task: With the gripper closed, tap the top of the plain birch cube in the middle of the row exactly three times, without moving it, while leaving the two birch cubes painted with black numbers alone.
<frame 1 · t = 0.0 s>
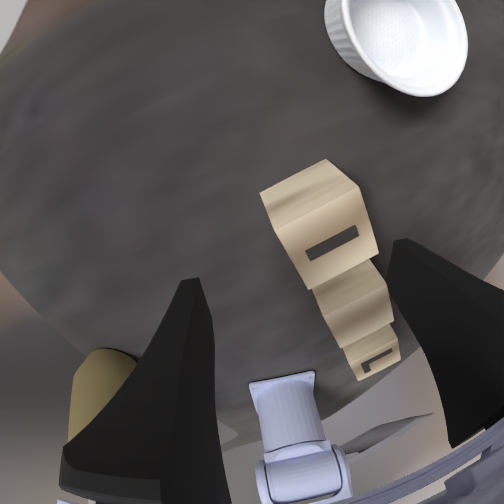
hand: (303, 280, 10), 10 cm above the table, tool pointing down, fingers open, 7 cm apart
plain block: (340, 277, 24), on the table
ramekin: (376, 28, 13), on the table
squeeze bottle: (114, 361, 28), on the table
numbered block seven: (359, 324, 29), on the table
numbered block one: (307, 204, 20), on the table
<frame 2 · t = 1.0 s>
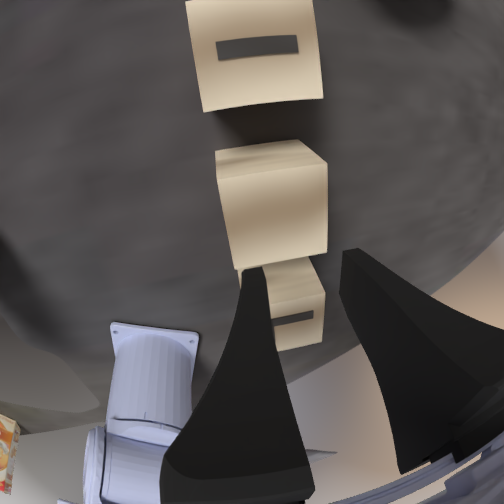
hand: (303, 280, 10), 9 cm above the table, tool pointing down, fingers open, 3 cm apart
plain block: (261, 181, 18), on the table
numbered block seven: (273, 279, 23), on the table
numbered block one: (244, 54, 13), on the table
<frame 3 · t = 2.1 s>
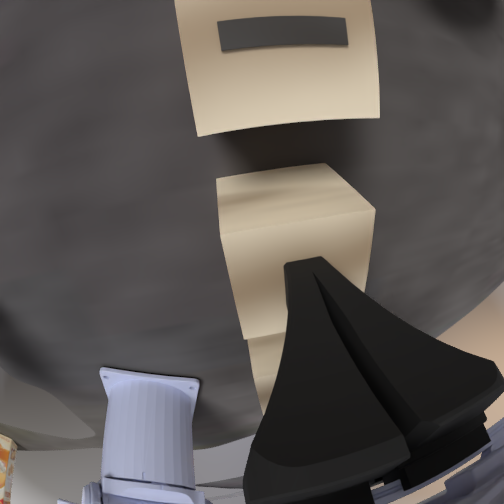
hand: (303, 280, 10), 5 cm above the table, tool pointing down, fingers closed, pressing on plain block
plain block: (276, 216, 14), on the table, touching gripper
numbered block seven: (285, 325, 19), on the table
numbered block one: (255, 47, 9), on the table
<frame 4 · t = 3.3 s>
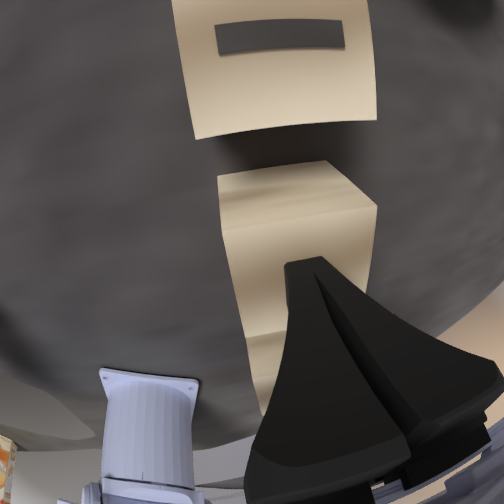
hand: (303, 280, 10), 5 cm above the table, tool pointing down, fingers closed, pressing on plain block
plain block: (277, 214, 14), on the table, touching gripper
numbered block seven: (284, 326, 19), on the table
numbered block one: (253, 50, 10), on the table
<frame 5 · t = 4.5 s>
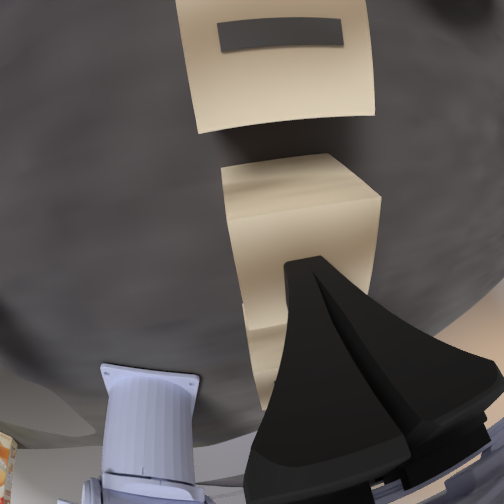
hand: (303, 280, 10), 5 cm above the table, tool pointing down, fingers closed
plain block: (280, 207, 14), on the table
numbered block seven: (284, 321, 19), on the table
numbered block one: (254, 48, 10), on the table
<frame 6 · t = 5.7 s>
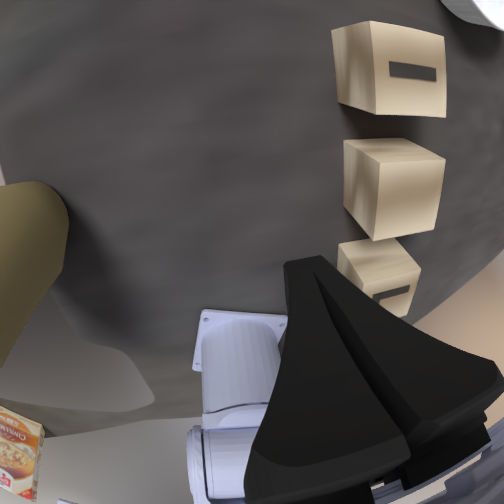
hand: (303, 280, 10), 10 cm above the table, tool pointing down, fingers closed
plain block: (373, 170, 19), on the table
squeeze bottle: (40, 213, 18), on the table
numbered block seven: (362, 262, 24), on the table
coffeecake box: (15, 415, 39), on the table
numbered block one: (368, 67, 15), on the table
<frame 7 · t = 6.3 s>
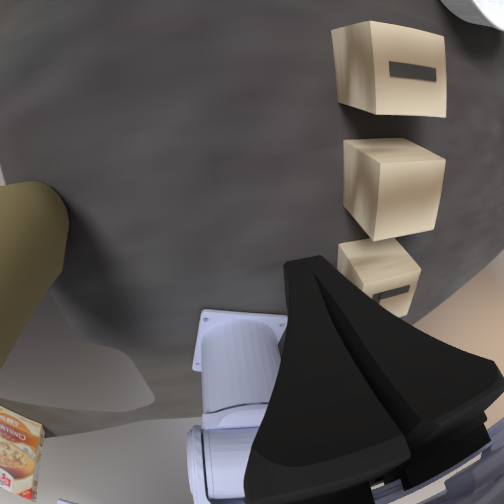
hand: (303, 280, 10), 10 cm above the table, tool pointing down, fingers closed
plain block: (373, 170, 19), on the table
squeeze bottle: (40, 213, 18), on the table
numbered block seven: (362, 262, 24), on the table
coffeecake box: (15, 415, 39), on the table
numbered block one: (368, 67, 15), on the table
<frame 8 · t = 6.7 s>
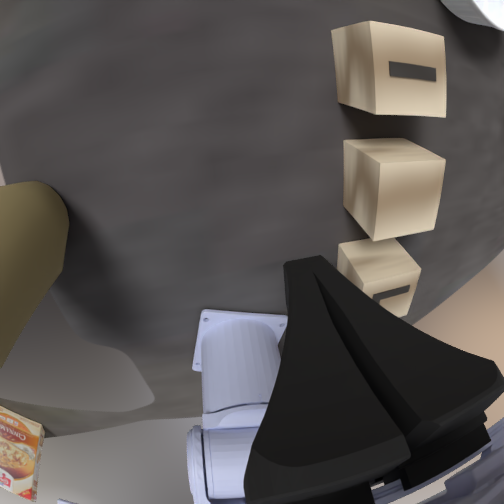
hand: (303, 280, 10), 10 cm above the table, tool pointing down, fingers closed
plain block: (373, 170, 19), on the table
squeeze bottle: (40, 213, 18), on the table
numbered block seven: (362, 262, 24), on the table
coffeecake box: (15, 415, 39), on the table
numbered block one: (368, 67, 15), on the table
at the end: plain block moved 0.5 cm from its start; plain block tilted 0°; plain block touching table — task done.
